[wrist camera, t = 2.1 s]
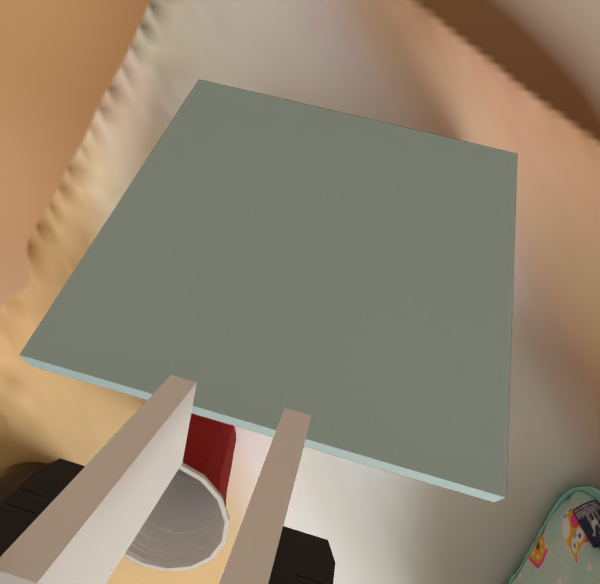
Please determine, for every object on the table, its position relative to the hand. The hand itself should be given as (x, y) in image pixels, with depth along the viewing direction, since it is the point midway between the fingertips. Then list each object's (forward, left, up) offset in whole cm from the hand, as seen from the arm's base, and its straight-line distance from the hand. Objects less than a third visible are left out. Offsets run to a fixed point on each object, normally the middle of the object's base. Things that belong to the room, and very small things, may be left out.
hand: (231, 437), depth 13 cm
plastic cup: (-7, -21, -29) cm, 36 cm away
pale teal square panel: (0, +3, -11) cm, 12 cm away
